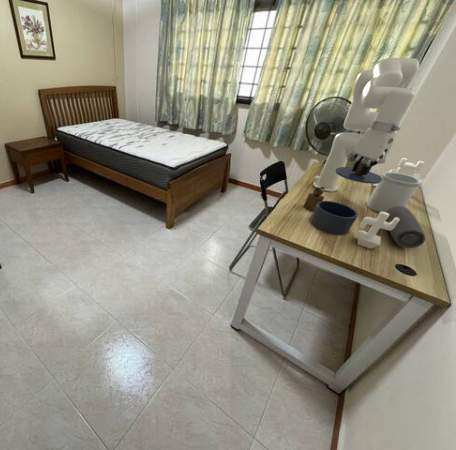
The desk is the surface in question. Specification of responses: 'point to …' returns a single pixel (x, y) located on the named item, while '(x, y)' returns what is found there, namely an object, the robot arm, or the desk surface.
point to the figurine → (374, 229)
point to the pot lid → (358, 174)
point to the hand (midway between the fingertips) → (358, 172)
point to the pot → (333, 217)
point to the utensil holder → (393, 191)
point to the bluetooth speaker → (405, 228)
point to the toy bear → (314, 198)
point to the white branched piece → (408, 168)
